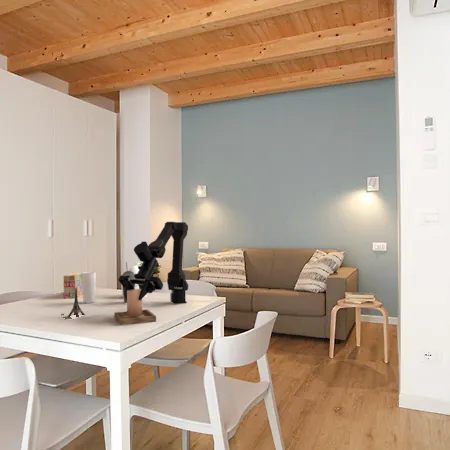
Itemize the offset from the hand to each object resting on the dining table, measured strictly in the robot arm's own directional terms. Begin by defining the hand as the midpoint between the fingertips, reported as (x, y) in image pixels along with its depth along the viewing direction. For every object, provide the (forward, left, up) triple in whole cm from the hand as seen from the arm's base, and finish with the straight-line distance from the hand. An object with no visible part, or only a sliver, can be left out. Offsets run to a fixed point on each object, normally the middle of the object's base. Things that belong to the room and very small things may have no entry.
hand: (132, 299), depth 160 cm
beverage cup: (-6, -40, -9) cm, 41 cm away
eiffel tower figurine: (+21, -19, -9) cm, 29 cm away
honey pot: (-12, -55, -9) cm, 57 cm away
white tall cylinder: (+12, -48, -9) cm, 50 cm away
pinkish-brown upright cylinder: (-1, -1, -7) cm, 7 cm away
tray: (-1, -1, -8) cm, 8 cm away
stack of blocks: (+16, -75, -9) cm, 77 cm away
